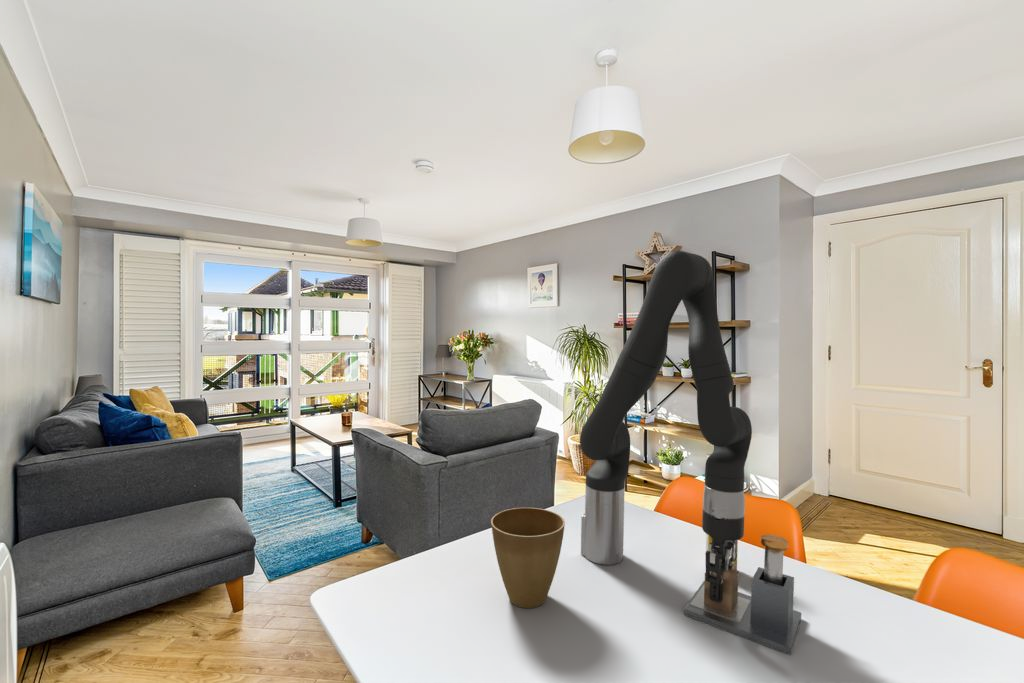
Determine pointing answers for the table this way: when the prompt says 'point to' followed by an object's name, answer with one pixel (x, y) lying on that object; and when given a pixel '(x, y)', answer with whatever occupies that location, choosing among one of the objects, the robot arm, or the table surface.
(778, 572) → the plunger
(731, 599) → the block
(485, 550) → the table surface
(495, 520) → the plant pot
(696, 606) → the grey assembly fixture
